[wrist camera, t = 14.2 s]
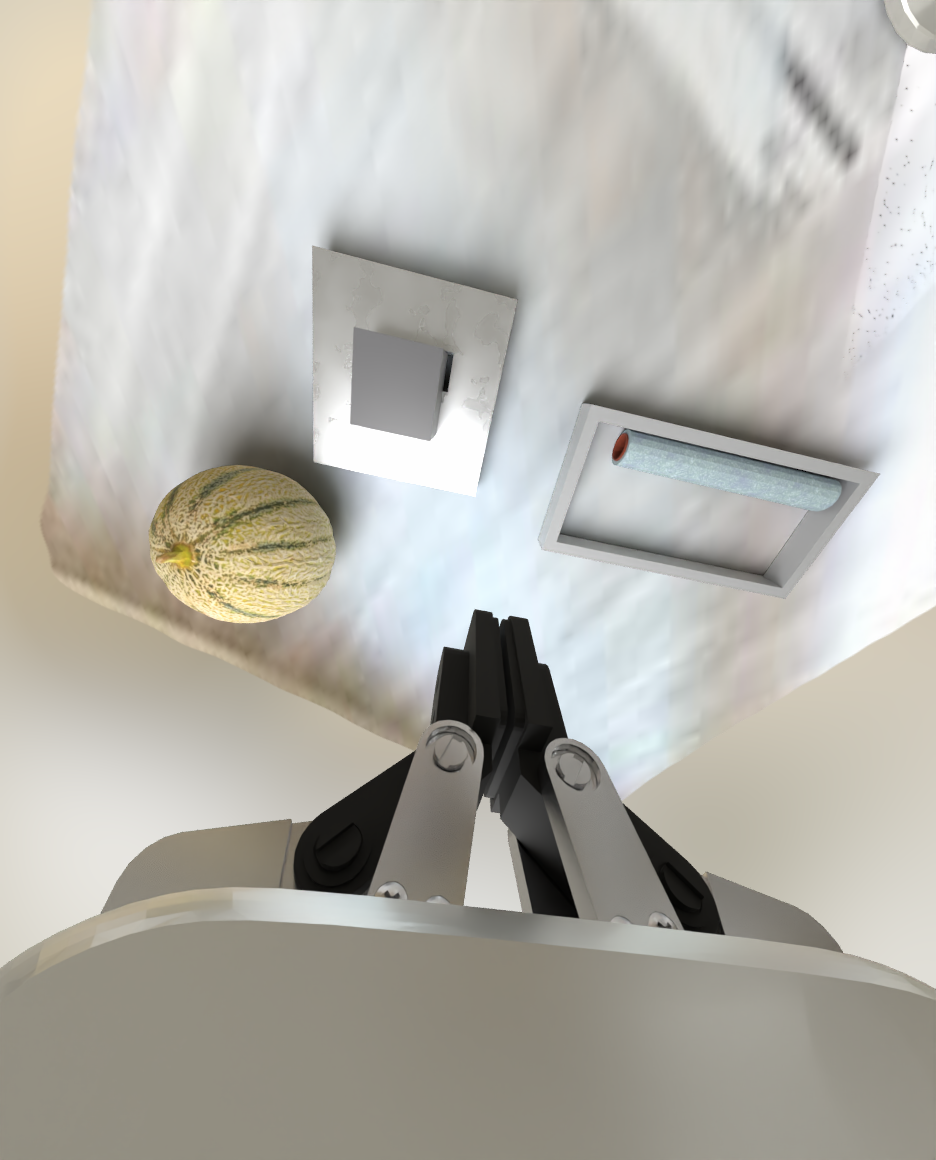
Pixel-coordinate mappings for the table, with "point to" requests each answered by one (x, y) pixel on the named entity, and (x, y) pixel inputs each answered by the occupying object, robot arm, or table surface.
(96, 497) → the table surface
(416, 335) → the socket
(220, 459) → the table surface
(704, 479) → the aluminum foil
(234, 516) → the cantaloupe
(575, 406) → the table surface
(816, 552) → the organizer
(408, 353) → the plug
